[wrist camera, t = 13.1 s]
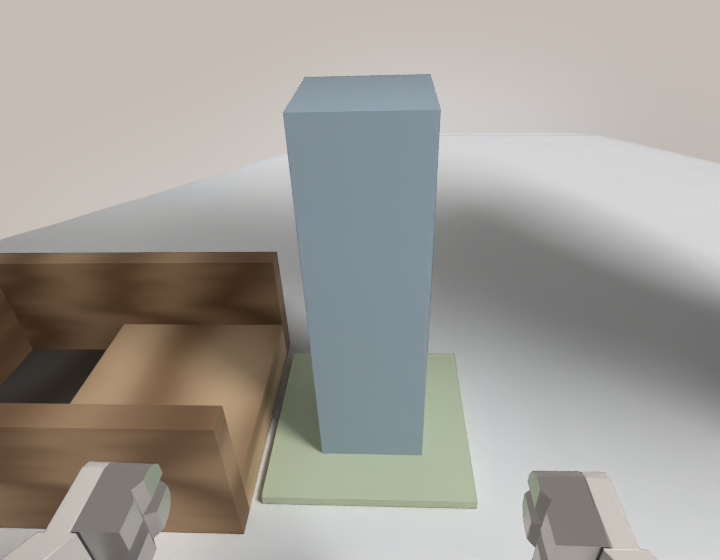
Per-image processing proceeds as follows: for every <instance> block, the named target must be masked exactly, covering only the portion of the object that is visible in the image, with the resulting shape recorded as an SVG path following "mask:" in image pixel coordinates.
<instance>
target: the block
mask: <svg viewBox="0 0 720 560" xmlns="http://www.w3.org/2000/svg"><path fill="white" fill-rule="evenodd" d="M440 112H441V109H440V106H439V102H438V99H437V95H436V92H435V88H434V85H433V82H432V78H431V75H430V74H416V75H376V76H375V75H374V76H332V77H305V78H304V79H303V81H302V83H301V84H300V86H299V88H298V89H297V91H296V92H295V94H294V96H293V97H292V99H291V101H290V102H289V104H288V105H287V107H286V109H285V111H284V112H283V117H284V126H285V134H286V143H287V152H288V160H289V169H290V177H291V186H292V195H293V203H294V212H295V221H296V229H297V238H298V246H299V255H300V264H301V272H302V281H303V290H304V298H305V307H306V315H307V324H308V333H309V341H310V350H311V359H312V367H313V376H314V384H315V393H316V402H317V410H318V419H319V428H320V436H321V445H322V453H327V454H375V455H422V445H423V427H424V408H425V390H426V372H427V353H428V335H429V316H430V298H431V279H432V261H433V242H434V224H435V205H436V187H437V168H438V150H439V131H440Z"/></svg>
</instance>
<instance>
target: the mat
mask: <svg viewBox="0 0 720 560" xmlns="http://www.w3.org/2000/svg"><path fill="white" fill-rule="evenodd" d="M261 498H262V502H263V503H267V504H309V505H352V506H395V507H438V508H477V503H478V501H477V495H476V489H475V483H474V476H473V470H472V464H471V457H470V451H469V445H468V438H467V432H466V426H465V419H464V413H463V407H462V400H461V394H460V388H459V381H458V375H457V369H456V362H455V356H454V354H428V353H427V372H426V390H425V408H424V427H423V445H422V455H375V454H327V453H322V445H321V436H320V428H319V419H318V410H317V402H316V393H315V384H314V376H313V367H312V359H311V353H294V356H293V360H292V364H291V369H290V373H289V378H288V382H287V386H286V391H285V395H284V400H283V404H282V408H281V413H280V417H279V422H278V426H277V431H276V435H275V439H274V444H273V448H272V453H271V457H270V461H269V466H268V470H267V475H266V479H265V483H264V488H263V492H262V497H261Z"/></svg>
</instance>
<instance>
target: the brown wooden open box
mask: <svg viewBox="0 0 720 560" xmlns="http://www.w3.org/2000/svg"><path fill="white" fill-rule="evenodd" d="M289 345H290V340H289V333H288V326H287V319H286V312H285V305H284V298H283V291H282V284H281V278H280V271H279V264H278V257H277V252H139V253H0V527H6V528H43V529H46V528H47V527H48V525H49V523H50V521H51V520H52V518H53V516H54V515H55V513H56V511H57V510H58V508H59V506H60V504H61V503H62V501H63V499H64V498H65V496H66V494H67V492H68V491H69V489H70V487H71V486H72V484H73V482H74V480H75V479H76V477H77V475H78V474H79V472H80V470H81V469H82V467H84V466H85V465H86V464H87V463H88V462H89V461H94V462H123V463H152V464H159V466H160V468H161V471H162V476H161V478H160V480H161V481H162V482H164V483H165V484H166V485H168V488H169V491H170V497H171V504H170V511H169V516H168V519H167V522H166V525H165V527H164V529H163V530H162V531H161V532H192V533H230V534H244V530H245V526H246V522H247V518H248V514H249V510H250V506H251V501H252V497H253V493H254V489H255V485H256V481H257V477H258V473H259V468H260V464H261V460H262V456H263V452H264V448H265V444H266V440H267V435H268V431H269V427H270V423H271V419H272V415H273V411H274V407H275V402H276V398H277V394H278V390H279V386H280V382H281V378H282V374H283V369H284V365H285V361H286V357H287V353H288V349H289Z"/></svg>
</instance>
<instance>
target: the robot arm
mask: <svg viewBox="0 0 720 560" xmlns="http://www.w3.org/2000/svg"><path fill="white" fill-rule="evenodd" d="M161 476H162V471H161V468H160V466H159V464H152V463H123V462H94V461H89V462H88V463H87V464H86V465H85V466H84V467H82V469H81V470H80V472H79V474H78V475H77V477H76V479H75V480H74V482H73V484H72V486H71V487H70V489H69V491H68V492H67V494H66V496H65V498H64V499H63V501H62V503H61V504H60V506H59V508H58V510H57V511H56V513H55V515H54V516H53V518H52V520H51V521H50V523H49V525H48V527H47V528H46V530H45V532H37V533H36V534H34V535H33V536H32V537H31V538H29V539H28V540H27V541H25V542H24V543H23V544H22V545H20V546H19V547H18V548H16V549H15V550H14V551H13V552H11V553H10V554H9V555H7V556H6V557H5V558H4V559H2V560H152V559H153V556H154V554H155V551H156V546H155V542H154V539H153V538H154V537H155V536H156V535H158V534H159V533H160V532H161V531H162V530H163V529H164V527H165V525H166V522H167V519H168V516H169V511H170V504H171V497H170V491H169V488H168V485H166V484H165V483H164V482H162V481H161V480H160V478H161ZM528 484H529V488H530V490H529V491H528V492H526V493H525V495H524V500H523V521H524V528H525V532H526V537H527V539H528V541H529V542H530V543H531V544H532V545H533V546H534V547H535V551H534V554H533V558H532V560H658V559H657V558H656V557H655V556H653V555H652V554H651V553H650V552H649V551H648V550H643V549H639V546H638V544H637V542H636V539H635V537H634V534H633V532H632V530H631V527H630V525H629V522H628V520H627V518H626V515H625V513H624V511H623V508H622V506H621V503H620V501H619V499H618V496H617V494H616V491H615V489H614V487H613V484H612V482H611V479H610V477H609V476H608V475H607V474H606V473H604V472H579V471H532V472H531V473H530V475H529V478H528Z"/></svg>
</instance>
